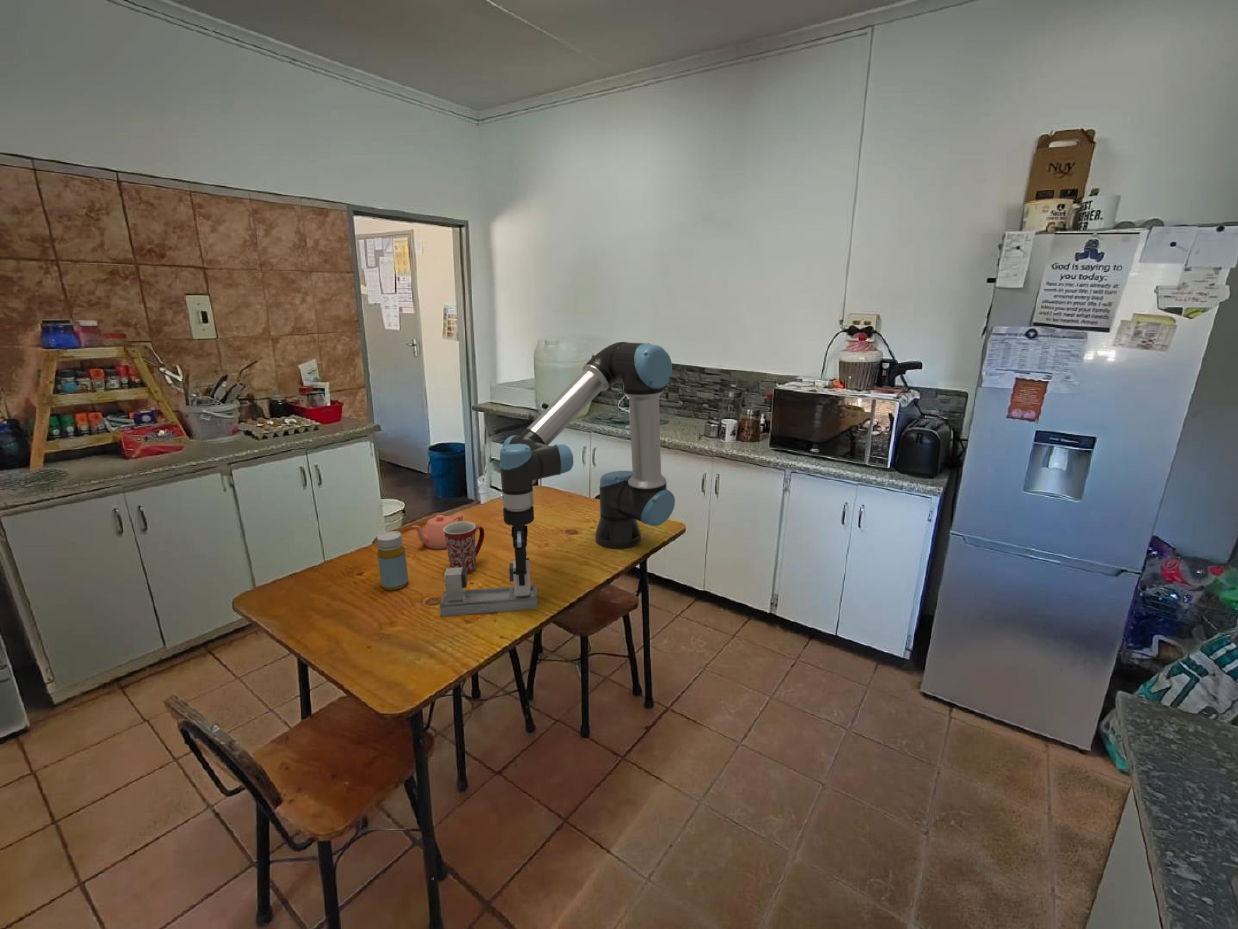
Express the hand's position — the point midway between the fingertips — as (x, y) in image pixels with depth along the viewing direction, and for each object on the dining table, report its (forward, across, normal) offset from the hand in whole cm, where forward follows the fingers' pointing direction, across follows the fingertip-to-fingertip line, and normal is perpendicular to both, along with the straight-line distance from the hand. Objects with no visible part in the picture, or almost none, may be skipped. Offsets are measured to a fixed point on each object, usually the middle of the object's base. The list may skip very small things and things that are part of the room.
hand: (522, 590), depth 145 cm
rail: (+4, 0, -8) cm, 9 cm away
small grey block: (0, 0, 0) cm, 0 cm away
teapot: (+4, -42, -28) cm, 50 cm away
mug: (+4, -23, -16) cm, 29 cm away
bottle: (+4, -15, -36) cm, 39 cm away
